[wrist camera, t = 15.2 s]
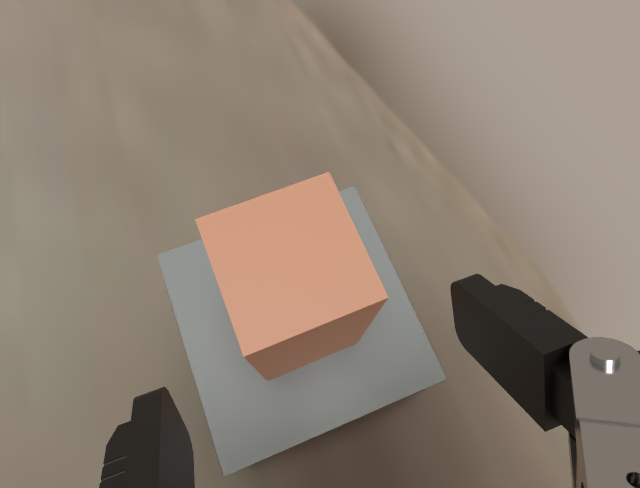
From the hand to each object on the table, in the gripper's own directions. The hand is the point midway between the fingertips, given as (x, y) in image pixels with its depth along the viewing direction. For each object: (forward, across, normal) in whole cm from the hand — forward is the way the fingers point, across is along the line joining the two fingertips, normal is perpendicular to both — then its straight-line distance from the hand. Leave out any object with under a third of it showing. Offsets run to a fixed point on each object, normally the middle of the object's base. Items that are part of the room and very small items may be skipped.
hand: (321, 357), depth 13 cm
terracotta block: (+11, 0, +6) cm, 13 cm away
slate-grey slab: (+14, -1, +9) cm, 17 cm away
